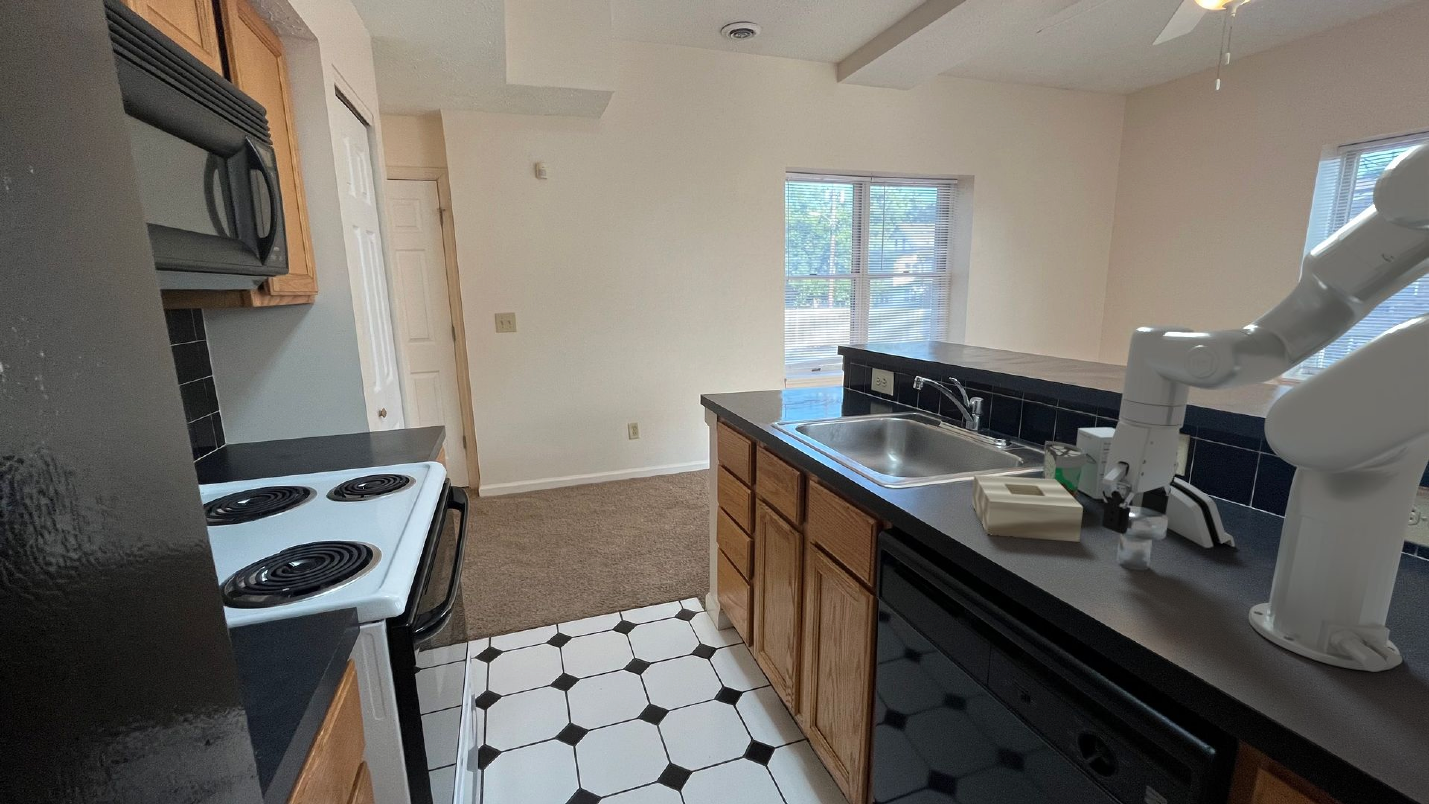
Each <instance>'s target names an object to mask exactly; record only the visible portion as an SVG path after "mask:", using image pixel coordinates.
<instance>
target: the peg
mask: <svg viewBox="0 0 1429 804" xmlns="http://www.w3.org/2000/svg"><path fill="white" fill-rule="evenodd" d="M1127 507H1128V508H1131V509H1130V515H1129V521H1128V528H1127V532H1126V533H1125V534H1121V533H1118V532H1116V533H1118V534H1119V536H1118V537H1119V538H1118V546H1117V555H1116V563H1117V564H1118V565H1119V566H1121V567H1123V568H1125V569H1126V568H1127V569H1129V570H1133V571H1134V570H1135V571H1147V570H1149V567H1150V560H1151V554H1152V553H1151V552H1152V544H1153V541H1156V540H1164V539H1165V538H1166V536H1167V531H1168V528H1167V525H1168V518H1167V516H1165V515H1164V514H1162V513H1160V512H1157V511H1154V510H1151V509H1147V508H1143V507H1137V506H1133V505H1128V506H1127Z"/></svg>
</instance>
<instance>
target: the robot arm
mask: <svg viewBox="0 0 1429 804" xmlns="http://www.w3.org/2000/svg"><path fill="white" fill-rule="evenodd" d="M1372 201H1373V203H1372V204H1371V205H1369V206H1368V207H1367V208H1366V209H1364V210H1363V211H1361V212H1360V213H1359V214H1357V215H1356V216H1355V217H1353V218H1352V219H1351V220H1350V221H1348V222H1347V223H1346V224H1344V225H1343V226H1342V227H1340V228H1338V230H1336V231H1334V232H1333V233H1332V234H1331V235H1330V236H1328V237H1327V238H1325V239H1324V240H1323V241H1321V242H1320V243H1319V244H1317V245H1316V246H1314V247H1312V249H1310V250H1309V251H1308V253H1307V254H1306V255H1305V256H1304V258H1303V260H1302V265H1301V266H1302V268H1301V269H1302V270H1301V278H1300V279H1299V282H1298V283H1297V285H1296V286H1295V287H1294V289H1293V290H1291V292H1290V293H1289V294H1287V296H1286V297H1285V298H1283V299H1282V300H1281V301H1280V302H1279V303H1277V304H1276V305H1274V306H1273V307H1272V308H1271V309H1269V310H1268V311H1266V312H1265V313H1263V314H1262V315H1261V316H1260V317H1258V318H1257V319H1255V320H1254V321H1252V322H1251V323H1249V324H1248V325H1246V326H1245V327H1242V328H1235V329H1234V328H1233V329H1232V328H1231V329H1223V330H1221V329H1220V330H1212V331H1194V330H1193V329H1191V328H1188V327H1184V326H1183V327H1182V326H1176V325H1175V326H1173V325H1143V326H1140V327H1138V328H1136V329H1135V330H1134V331H1133V332H1132V334H1131V339H1130V342H1129V350H1128V356H1127V363H1126V369H1125V376H1124V382H1123V390H1122V395H1121V403H1120V408H1119V409H1120V410H1119V413H1118V414H1119V416H1118V420H1119V421H1118V422H1117V425H1116V426H1115V428H1114V429H1115V432H1114V435H1113V438H1112V442H1111V445H1110V449H1109V454H1108V458H1107V463H1106V468H1105V473H1104V478H1103V480H1102V485H1103V496H1104V499H1103V502H1104V509H1103V516H1102V522H1101V526H1102V527H1103V528H1104V529H1108V530H1110V531H1112V532H1115V533H1117V532H1118V534H1120V533H1121V534H1125V533H1126V532H1127V528H1128V521H1129V515H1130V509H1131V508H1128V507H1127V506H1130V503H1131V501H1132V498H1133V496H1134V494H1138V493H1142V492H1143V498H1142V504H1141V507H1143V508H1147V509H1151V510H1154V511H1157V512H1160V513H1162V514H1164V515H1166V509H1167V504H1168V498H1169V496H1166V495H1170V493H1171V487H1170V486H1171V484H1172V483H1173V482H1174V479H1175V478H1174V477H1175V475H1176V472H1177V470H1178V468H1179V466H1180V465H1179V462H1177V461H1178V460H1177V459H1178V450H1179V443H1180V442H1179V440H1180V429H1181V428H1183V426H1184V421H1185V415H1186V411H1187V410H1186V409H1187V403H1188V398H1189V392H1190V388H1191V387H1192V388H1197V389H1200V390H1205V391H1206V390H1207V391H1220V390H1222V391H1223V390H1227V389H1233V388H1238V387H1243V386H1244V387H1245V386H1252V385H1258V384H1263V383H1265V382H1269V381H1271V380H1273V379H1276V378H1278V377H1280V376H1281V375H1283V374H1285V373H1286V372H1288V371H1290V370H1291V369H1294V368H1295V367H1297V366H1298V365H1300V364H1302V363H1303V362H1304V361H1306V360H1308V359H1310V358H1311V357H1313V356H1314V355H1316V354H1318V353H1319V352H1321V351H1322V350H1324V349H1326V348H1327V347H1329V346H1330V345H1331V344H1332V343H1333V344H1334V342H1336V341H1337V340H1338V339H1340V338H1341V337H1342V336H1344V335H1345V334H1346V333H1348V332H1349V331H1350V330H1351V329H1352V328H1354V327H1355V326H1356V325H1357V324H1359V323H1360V322H1361V321H1362V320H1364V319H1366V318H1367V316H1369V315H1370V314H1371V313H1372V312H1373V311H1374V310H1375V309H1376V308H1377V307H1378V306H1379V305H1381V304H1382V303H1383V302H1385V301H1388V300H1389V299H1390V298H1391V297H1393V296H1394V295H1396V294H1398V293H1399V292H1401V291H1402V290H1404V289H1405V288H1407V287H1408V286H1411V284H1413V283H1415V282H1417V281H1418V280H1420V279H1421V278H1423V277H1425V276H1426V275H1427V274H1429V139H1426V140H1424V141H1422V142H1419V143H1417V144H1415V145H1413V146H1411V147H1409V148H1408V149H1407V150H1405V151H1404V152H1402V153H1399V155H1398V156H1397V157H1395V158H1394V159H1393V160H1392V161H1390V163H1388V164H1387V166H1386V167H1385V168H1384V169H1383V170H1382V172H1381V173H1380V174H1379V176H1378V178H1377V180H1376V181H1375V184H1374V186H1373V191H1372ZM1264 434H1265V438H1266V441H1267V444H1268V446H1269V447H1270V449H1271V450H1272V451H1273V452H1274V453H1275V454H1276V455H1277V456H1278V457H1279V458H1280V459H1282V461H1285V462H1286V463H1288V464H1290V465H1292V466H1293V467H1296V470H1295V472H1294V475H1293V478H1292V483H1291V486H1290V488H1289V489H1290V490H1289V496H1288V500H1287V505H1286V509H1285V515H1284V521H1283V525H1282V530H1281V534H1280V535H1281V536H1280V540H1279V541H1280V542H1279V547H1278V551H1277V558H1276V562H1275V566H1274V567H1275V569H1274V573H1273V579H1272V583H1271V584H1272V585H1271V589H1270V595H1269V600H1268V601H1269V602H1263V603H1258V604H1256V605H1254V606H1252V607H1251V608H1250V610H1249V613H1248V622H1249V623H1250V625H1251V627H1253V629H1255V631H1256V632H1257V633H1259V634H1260V635H1261V636H1262V637H1265V638H1266V639H1267V640H1269V641H1271V642H1272V643H1274V644H1276V645H1278V646H1279V647H1282V648H1283V649H1286V650H1288V651H1290V652H1293V653H1295V654H1298V655H1299V656H1303V657H1306V658H1308V659H1311V660H1314V661H1316V662H1317V661H1318V662H1321V663H1325V664H1327V665H1331V666H1335V667H1341V668H1345V669H1350V670H1356V671H1357V670H1358V671H1368V672H1373V673H1374V672H1376V673H1377V672H1381V671H1386V670H1391V669H1393V668H1395V667H1397V666H1398V665H1400V664H1401V663H1402V662H1403V657H1402V656H1401V655H1400V654H1401V653H1400V651H1399V648H1398V647H1397V646H1396V645H1395V644H1394V643H1393V641H1391V640H1390V639H1389V638H1390V636H1389V635H1390V632H1391V629H1389V628H1388V627H1386V621H1387V617H1388V612H1389V609H1390V608H1389V607H1390V605H1391V600H1392V596H1393V591H1394V588H1395V583H1396V579H1397V578H1396V577H1397V574H1398V569H1399V564H1400V561H1401V556H1402V552H1403V549H1404V543H1405V540H1406V536H1407V531H1408V529H1409V524H1410V520H1411V515H1412V513H1413V508H1414V503H1415V500H1416V497H1417V493H1418V489H1419V486H1420V484H1421V480H1422V478H1423V475H1424V472H1425V470H1426V467H1427V465H1428V462H1429V312H1425V313H1422V314H1419V315H1416V316H1414V317H1411V318H1409V319H1407V320H1405V321H1402V322H1400V323H1398V324H1396V325H1394V326H1391V327H1390V328H1388V329H1387V330H1385V331H1382V332H1380V333H1379V334H1378V335H1376V336H1375V337H1373V338H1371V339H1369V340H1368V341H1366V342H1364V343H1363V344H1361V345H1360V346H1358V347H1357V348H1355V349H1353V350H1352V351H1350V352H1349V353H1347V354H1345V355H1343V356H1342V357H1340V358H1338V359H1337V360H1335V361H1334V362H1331V364H1329V365H1327V366H1326V367H1323V368H1322V369H1320V370H1319V371H1318V372H1316V373H1314V374H1312V375H1310V376H1309V377H1308V378H1305V379H1304V380H1303V381H1301V382H1300V383H1298V384H1297V385H1295V386H1293V387H1292V388H1290V389H1289V390H1287V391H1286V392H1285V393H1283V394H1282V395H1281V396H1279V397H1278V398H1277V400H1275V401H1274V403H1273V404H1272V405H1271V407H1270V408H1269V409H1268V412H1267V414H1266V416H1265V420H1264ZM1121 483H1123V484H1127V485H1130V486H1131V487H1129V486H1125V485H1122V484H1121ZM1118 490H1120V491H1123V492H1126V493H1125V495H1124V497H1123V498H1122V496H1121V494H1120V493H1119V491H1118ZM1149 490H1150V491H1149Z"/></svg>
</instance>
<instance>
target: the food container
mask: <svg viewBox="0 0 1429 804" xmlns="http://www.w3.org/2000/svg"><path fill="white" fill-rule="evenodd" d="M1044 442H1045V443H1044V448H1043V449H1044V455H1043V456H1044V457H1043V466H1042V467H1043V468H1042V469H1043V470H1042V479H1056V480H1057V481H1058V482H1059V483H1060V484H1061V485H1062V486H1063V487H1064V488H1065V489H1066V490H1067V491H1068V492H1069V493H1070V494H1071V495H1072V496H1073V497H1074V498H1075V500H1076V498H1077V494H1078V485H1079V480H1080V475H1081V470H1082V466H1084V465H1086V464H1087V459H1086V454H1085V453H1084V450H1083V449H1081V448H1079V447H1076V445H1073V444H1069V443H1065V442H1064V443H1063V442H1060V441H1059V442H1058V441H1050V440H1045V441H1044Z"/></svg>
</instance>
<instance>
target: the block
mask: <svg viewBox="0 0 1429 804" xmlns="http://www.w3.org/2000/svg"><path fill="white" fill-rule="evenodd" d="M972 488H973V490H972V499H971V500H972V501H971V505H973V506H972V508H973V507H974V508H973V509H975V510H974V512H975V511H976V512H975V513H977V514H976V515H977V517H978V520H979V521H980V523H981V525H982V524H983V525H982V527H983V529H984V531H985V530H986V531H985V533H986V535H987V534H992V535H991V536H997V535H999V537H1010V536H1013V538H1023V539H1024V538H1027V539H1040V540H1052V541H1065V542H1078V543H1079V542H1080V538H1081V537H1080V536H1081V527H1082V520H1083V513H1084V512H1083V510H1084V507H1083V506H1082V504H1081V503H1080V502H1079V501H1077V500H1076V499H1075V498H1074V497H1073V496H1072V495H1071V494H1070V493H1069V492H1068V491H1067V490H1066V489H1065V488H1064V487H1063V486H1062V485H1061V484H1060V483H1059V482H1058V481H1057V480H1056V479H1043V478H1040V477H1039V478H1036V477H1034V478H1033V477H1017V476H1000V475H982V474H980V475H977V474H974V475H973V487H972Z"/></svg>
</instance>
